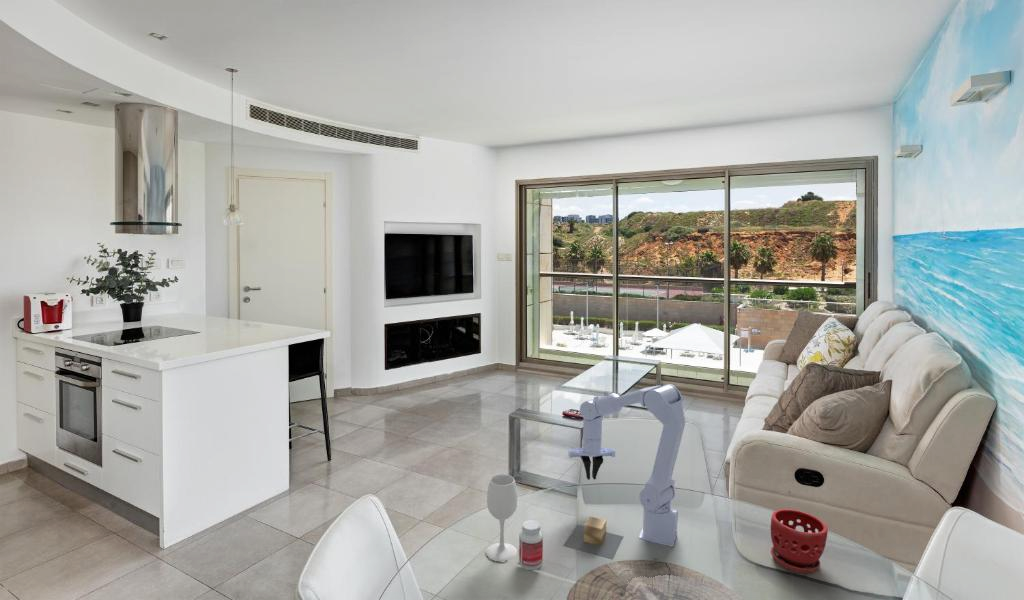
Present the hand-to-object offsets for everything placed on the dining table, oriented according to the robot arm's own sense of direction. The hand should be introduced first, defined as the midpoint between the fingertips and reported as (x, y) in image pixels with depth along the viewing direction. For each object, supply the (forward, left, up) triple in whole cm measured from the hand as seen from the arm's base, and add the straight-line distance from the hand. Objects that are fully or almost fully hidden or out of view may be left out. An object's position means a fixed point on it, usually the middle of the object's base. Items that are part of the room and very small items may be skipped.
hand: (591, 478), depth 171 cm
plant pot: (-58, +4, -10) cm, 59 cm away
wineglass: (+14, +35, -10) cm, 39 cm away
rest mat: (-7, +19, -9) cm, 22 cm away
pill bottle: (+5, +36, -10) cm, 38 cm away
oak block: (-7, +18, -9) cm, 21 cm away
